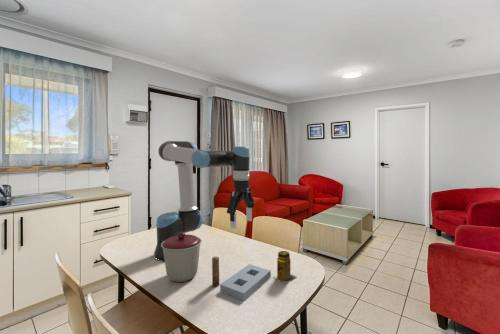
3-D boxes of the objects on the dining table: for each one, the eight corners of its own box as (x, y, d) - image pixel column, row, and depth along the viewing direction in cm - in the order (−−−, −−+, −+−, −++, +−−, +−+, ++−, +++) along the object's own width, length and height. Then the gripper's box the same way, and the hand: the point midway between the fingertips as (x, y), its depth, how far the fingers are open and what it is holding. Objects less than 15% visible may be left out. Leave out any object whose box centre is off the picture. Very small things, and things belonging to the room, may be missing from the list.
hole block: (220, 291, 103) (220, 284, 102) (249, 270, 121) (249, 264, 121) (243, 300, 96) (243, 293, 96) (270, 276, 114) (270, 270, 114)
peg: (211, 285, 107) (210, 258, 107) (215, 282, 110) (215, 256, 109) (216, 287, 106) (215, 260, 105) (220, 284, 108) (220, 257, 107)
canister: (155, 286, 106) (153, 239, 105) (170, 267, 124) (169, 226, 123) (196, 287, 106) (195, 239, 104) (205, 267, 124) (205, 226, 122)
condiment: (273, 278, 113) (273, 252, 113) (284, 271, 119) (284, 247, 118) (285, 284, 108) (285, 257, 107) (297, 277, 114) (297, 252, 113)
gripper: (232, 182, 102) (233, 232, 104) (261, 177, 124) (261, 219, 125) (218, 181, 106) (218, 230, 107) (248, 176, 127) (248, 217, 129)
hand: (241, 224), depth 116 cm, fingers open, 13 cm apart
